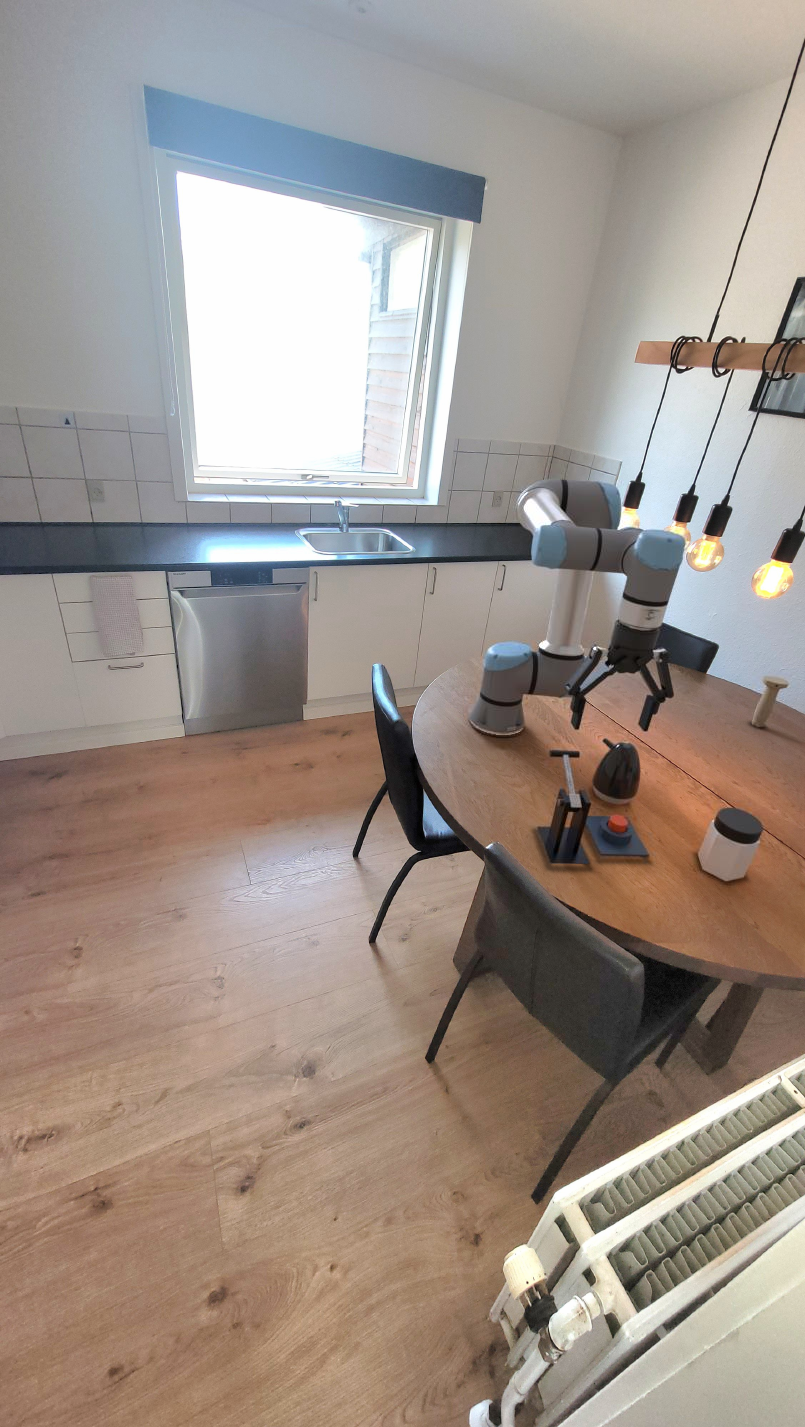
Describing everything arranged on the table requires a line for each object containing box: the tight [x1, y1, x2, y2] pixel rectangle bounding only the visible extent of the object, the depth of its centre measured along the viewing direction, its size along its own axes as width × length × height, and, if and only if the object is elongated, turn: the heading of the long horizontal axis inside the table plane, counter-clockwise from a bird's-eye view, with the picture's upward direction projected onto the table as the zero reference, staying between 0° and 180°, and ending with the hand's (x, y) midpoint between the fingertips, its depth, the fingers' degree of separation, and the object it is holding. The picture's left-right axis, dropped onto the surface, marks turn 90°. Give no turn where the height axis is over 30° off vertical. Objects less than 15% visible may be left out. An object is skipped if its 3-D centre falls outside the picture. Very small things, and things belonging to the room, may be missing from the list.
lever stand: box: [536, 788, 592, 865], centre depth 117 cm, size 11×8×14 cm
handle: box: [751, 675, 790, 728], centre depth 171 cm, size 5×6×15 cm
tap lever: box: [548, 749, 582, 813], centre depth 118 cm, size 13×6×2 cm, turn 3°
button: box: [608, 814, 628, 833], centre depth 122 cm, size 4×4×2 cm
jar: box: [697, 807, 764, 882], centre depth 117 cm, size 9×8×12 cm
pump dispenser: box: [591, 737, 642, 806], centre depth 134 cm, size 10×10×15 cm
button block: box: [585, 815, 650, 857], centre depth 123 cm, size 12×10×4 cm
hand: (608, 727), depth 113 cm, fingers open, 13 cm apart
